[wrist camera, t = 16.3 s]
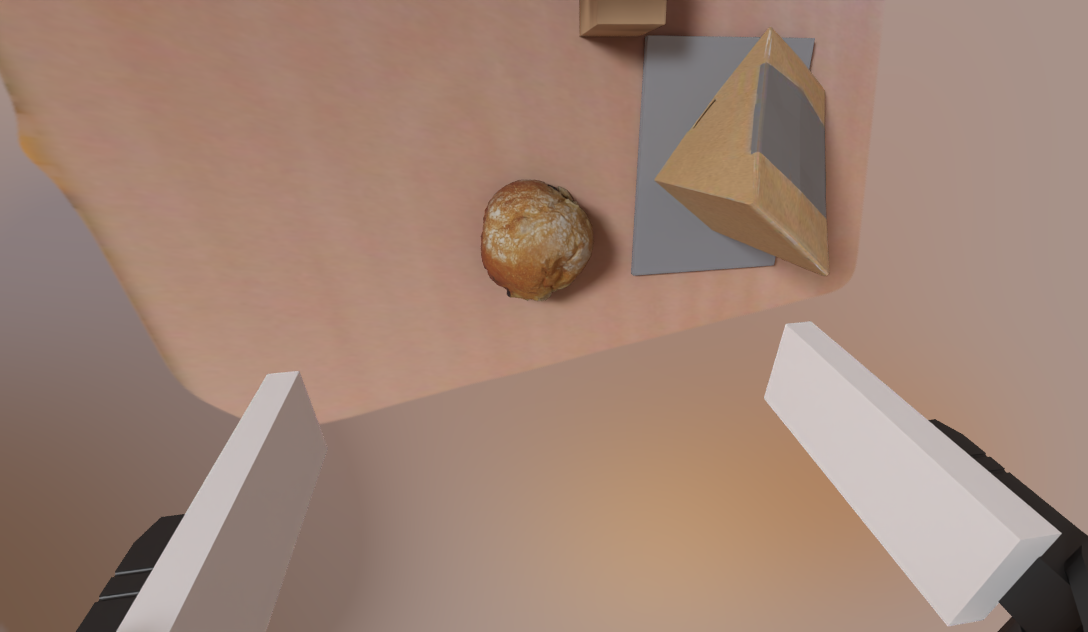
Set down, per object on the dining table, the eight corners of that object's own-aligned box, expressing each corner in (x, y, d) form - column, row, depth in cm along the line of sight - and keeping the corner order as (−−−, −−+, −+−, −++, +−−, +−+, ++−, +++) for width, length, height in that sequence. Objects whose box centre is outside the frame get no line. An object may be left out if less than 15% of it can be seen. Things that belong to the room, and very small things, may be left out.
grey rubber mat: (645, 36, 38) (648, 35, 37) (809, 39, 40) (814, 38, 40) (631, 273, 46) (633, 275, 45) (770, 263, 48) (774, 265, 48)
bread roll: (584, 215, 46) (622, 191, 39) (559, 315, 45) (594, 310, 37) (488, 180, 43) (510, 146, 36) (459, 286, 42) (475, 274, 35)
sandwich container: (828, 92, 42) (1011, 77, 28) (714, 232, 45) (830, 280, 31) (769, 22, 39) (944, -33, 25) (651, 178, 42) (750, 205, 28)
